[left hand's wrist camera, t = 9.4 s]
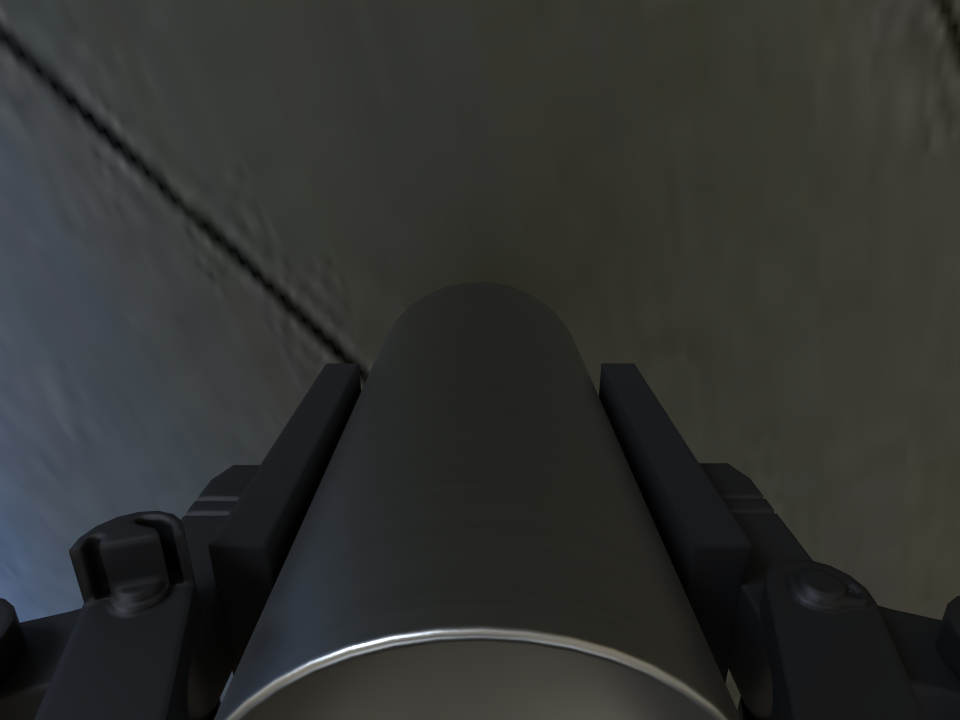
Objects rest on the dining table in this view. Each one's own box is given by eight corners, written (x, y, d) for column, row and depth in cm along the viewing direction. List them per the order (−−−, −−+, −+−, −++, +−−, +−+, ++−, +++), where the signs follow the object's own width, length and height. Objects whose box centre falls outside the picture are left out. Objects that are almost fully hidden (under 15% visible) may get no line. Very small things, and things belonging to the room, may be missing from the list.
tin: (620, 401, 17) (875, 896, 6) (460, 503, 18) (430, 1069, 7) (501, 237, 15) (554, 512, 4) (333, 362, 16) (50, 819, 6)
